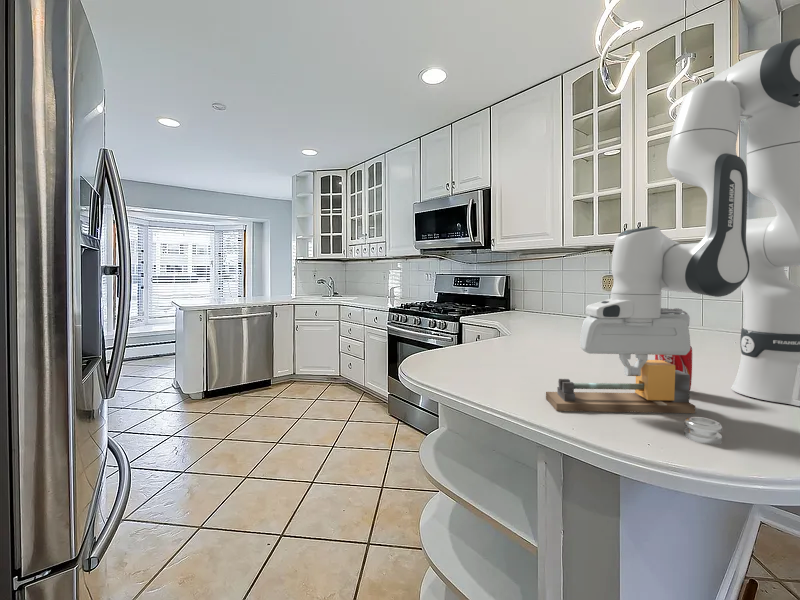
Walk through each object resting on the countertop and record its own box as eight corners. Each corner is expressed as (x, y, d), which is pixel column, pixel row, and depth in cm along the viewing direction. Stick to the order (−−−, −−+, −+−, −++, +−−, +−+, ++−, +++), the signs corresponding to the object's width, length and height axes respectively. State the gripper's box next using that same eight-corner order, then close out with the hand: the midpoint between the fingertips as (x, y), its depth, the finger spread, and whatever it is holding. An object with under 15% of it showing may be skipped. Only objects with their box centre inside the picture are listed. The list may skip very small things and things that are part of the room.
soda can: (695, 397, 89) (697, 342, 88) (657, 393, 91) (659, 340, 91) (686, 388, 95) (687, 337, 94) (651, 385, 98) (652, 336, 97)
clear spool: (691, 443, 66) (727, 446, 64) (691, 425, 65) (728, 427, 64) (679, 431, 70) (713, 434, 69) (679, 414, 70) (714, 416, 69)
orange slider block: (660, 393, 85) (661, 360, 85) (674, 400, 80) (675, 365, 80) (635, 392, 86) (636, 359, 85) (647, 400, 81) (648, 365, 80)
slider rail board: (671, 400, 87) (672, 367, 86) (695, 413, 79) (696, 377, 78) (545, 398, 89) (546, 366, 89) (556, 410, 81) (557, 376, 81)
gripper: (680, 307, 84) (677, 372, 85) (578, 306, 86) (576, 370, 87) (699, 309, 78) (696, 380, 79) (589, 309, 80) (586, 378, 81)
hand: (632, 375), depth 83 cm, fingers closed
